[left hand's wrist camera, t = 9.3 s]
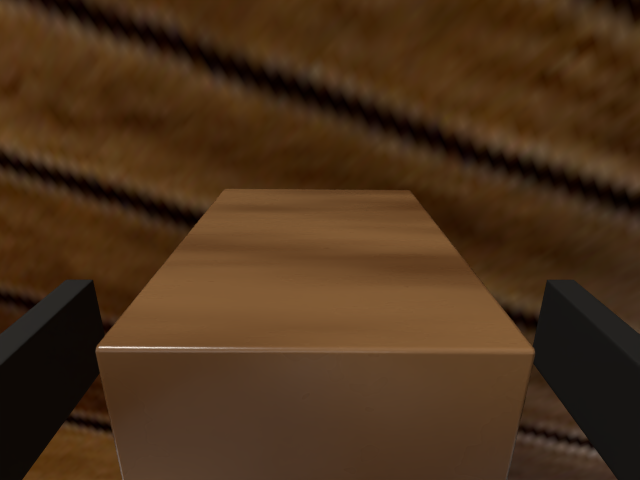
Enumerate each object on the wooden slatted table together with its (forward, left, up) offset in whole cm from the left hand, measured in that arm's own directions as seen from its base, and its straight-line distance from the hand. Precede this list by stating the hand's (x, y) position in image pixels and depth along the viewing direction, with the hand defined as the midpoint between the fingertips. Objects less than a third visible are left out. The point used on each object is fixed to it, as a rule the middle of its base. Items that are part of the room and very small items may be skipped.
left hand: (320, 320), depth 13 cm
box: (-3, +11, -3) cm, 11 cm away
